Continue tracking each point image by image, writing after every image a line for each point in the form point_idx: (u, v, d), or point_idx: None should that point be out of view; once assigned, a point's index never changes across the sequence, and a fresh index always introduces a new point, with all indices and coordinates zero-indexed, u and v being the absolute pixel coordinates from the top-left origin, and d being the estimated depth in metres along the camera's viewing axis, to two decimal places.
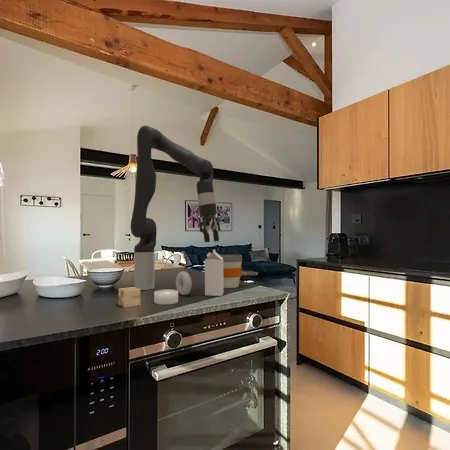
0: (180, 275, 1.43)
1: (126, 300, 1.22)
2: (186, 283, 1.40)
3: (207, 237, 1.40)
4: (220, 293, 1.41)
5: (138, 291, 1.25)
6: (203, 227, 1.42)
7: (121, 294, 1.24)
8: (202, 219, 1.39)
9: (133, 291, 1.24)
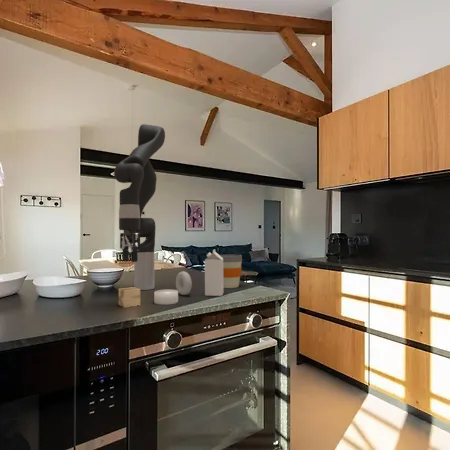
0: (180, 275, 1.43)
1: (126, 300, 1.22)
2: (186, 283, 1.40)
3: None
4: (220, 293, 1.41)
5: (138, 291, 1.25)
6: None
7: (121, 294, 1.24)
8: None
9: (133, 291, 1.24)
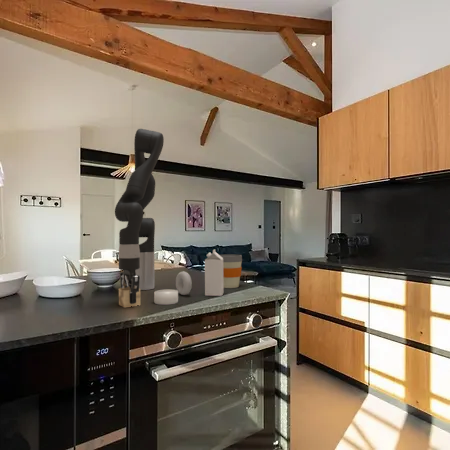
0: (180, 275, 1.43)
1: (126, 299, 1.22)
2: (186, 283, 1.40)
3: None
4: (220, 293, 1.41)
5: None
6: None
7: (121, 294, 1.24)
8: None
9: None
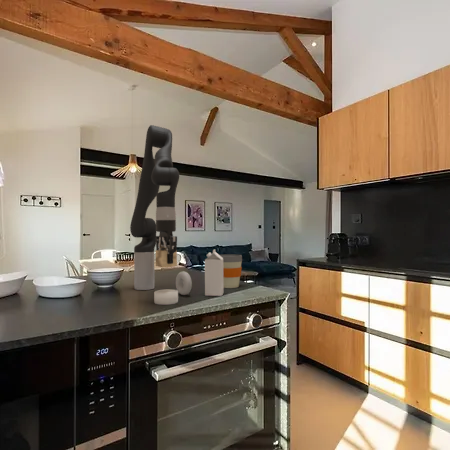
0: (180, 275, 1.43)
1: (164, 260, 1.27)
2: (186, 283, 1.40)
3: None
4: (220, 293, 1.41)
5: (175, 252, 1.29)
6: None
7: (158, 255, 1.29)
8: None
9: None
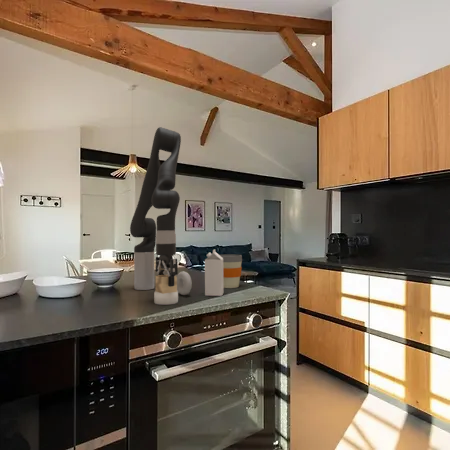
0: (180, 275, 1.43)
1: (164, 286, 1.26)
2: (186, 283, 1.40)
3: None
4: (220, 293, 1.41)
5: (175, 278, 1.29)
6: None
7: (158, 281, 1.29)
8: None
9: None
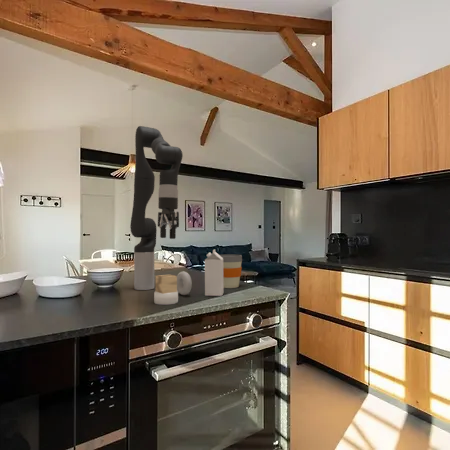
0: (180, 275, 1.43)
1: (164, 286, 1.26)
2: (186, 283, 1.40)
3: None
4: (220, 293, 1.41)
5: (175, 278, 1.29)
6: None
7: (158, 281, 1.29)
8: None
9: (170, 278, 1.28)
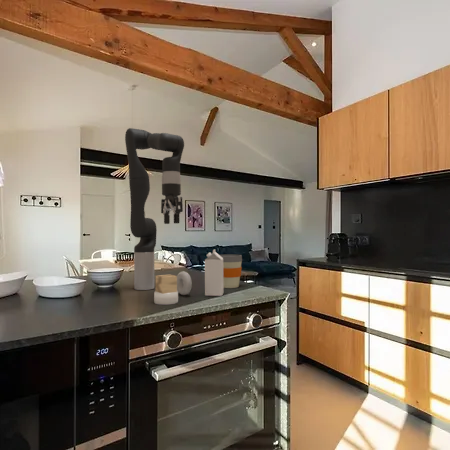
0: (180, 275, 1.43)
1: (164, 286, 1.26)
2: (186, 283, 1.40)
3: None
4: (220, 293, 1.41)
5: (175, 278, 1.29)
6: (169, 208, 1.41)
7: (158, 281, 1.29)
8: None
9: (170, 278, 1.28)
